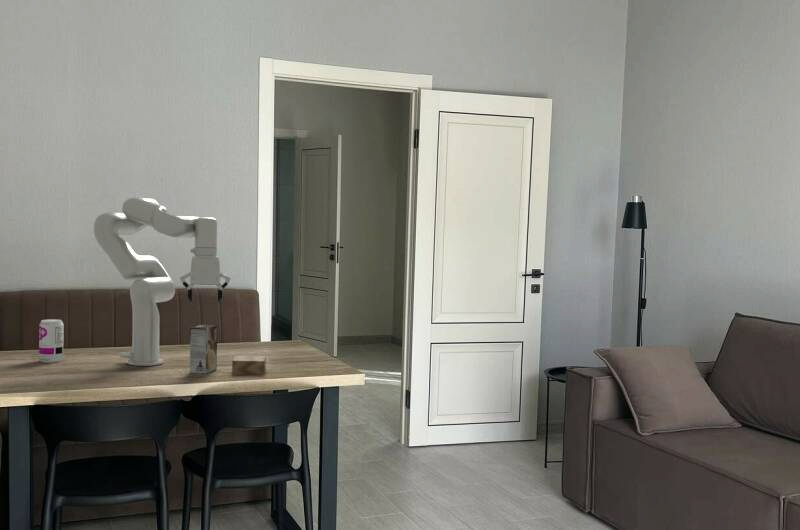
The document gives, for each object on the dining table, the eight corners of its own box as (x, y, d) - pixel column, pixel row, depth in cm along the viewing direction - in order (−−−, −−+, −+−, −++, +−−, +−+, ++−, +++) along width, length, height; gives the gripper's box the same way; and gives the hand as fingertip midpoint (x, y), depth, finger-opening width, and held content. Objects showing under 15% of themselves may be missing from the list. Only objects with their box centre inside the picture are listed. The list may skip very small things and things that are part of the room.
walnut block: (232, 374, 284) (232, 360, 284) (234, 369, 295) (235, 355, 295) (263, 375, 285) (264, 361, 285) (265, 369, 296) (265, 355, 296)
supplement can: (42, 363, 292) (43, 322, 291) (36, 360, 298) (36, 319, 297) (66, 361, 297) (66, 321, 296) (59, 358, 303) (59, 318, 303)
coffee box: (200, 368, 293) (201, 324, 292) (217, 369, 291) (218, 325, 291) (189, 372, 284) (189, 327, 283) (206, 374, 282) (206, 328, 282)
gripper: (179, 252, 280) (178, 301, 281) (230, 253, 283) (229, 302, 284) (181, 251, 288) (181, 299, 289) (231, 252, 290) (230, 300, 291)
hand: (205, 301), depth 286 cm, fingers open, 9 cm apart
